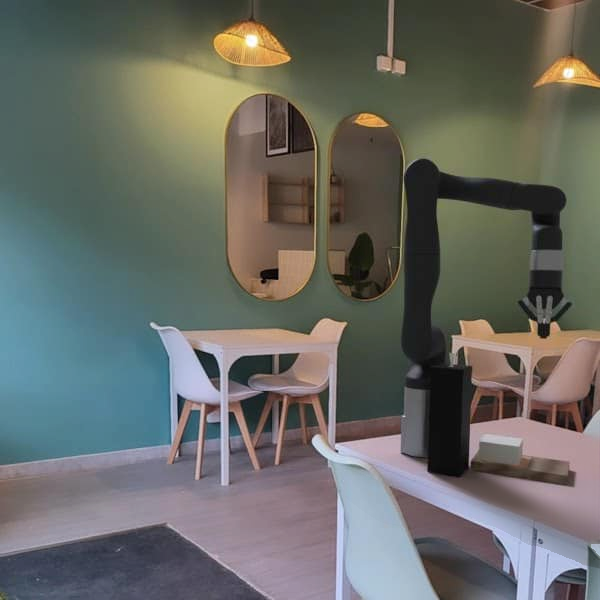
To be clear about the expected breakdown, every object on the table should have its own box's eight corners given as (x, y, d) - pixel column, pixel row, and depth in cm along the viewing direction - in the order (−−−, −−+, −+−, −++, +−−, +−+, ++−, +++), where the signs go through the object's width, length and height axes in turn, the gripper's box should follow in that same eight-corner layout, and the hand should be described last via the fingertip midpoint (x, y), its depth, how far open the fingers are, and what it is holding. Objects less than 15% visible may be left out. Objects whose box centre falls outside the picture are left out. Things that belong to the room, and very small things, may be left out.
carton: (478, 459, 142) (479, 441, 142) (484, 451, 150) (484, 434, 149) (518, 465, 138) (519, 446, 138) (522, 457, 146) (522, 438, 145)
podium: (470, 469, 141) (470, 461, 141) (479, 456, 152) (479, 448, 152) (567, 484, 132) (567, 475, 132) (569, 469, 143) (569, 461, 143)
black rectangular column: (469, 469, 142) (473, 352, 141) (460, 478, 135) (464, 355, 134) (437, 463, 146) (440, 349, 145) (426, 471, 139) (430, 352, 138)
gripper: (516, 268, 147) (513, 338, 148) (574, 268, 141) (572, 341, 142) (519, 269, 154) (517, 335, 154) (575, 269, 148) (573, 339, 148)
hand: (543, 338), depth 148 cm, fingers closed
